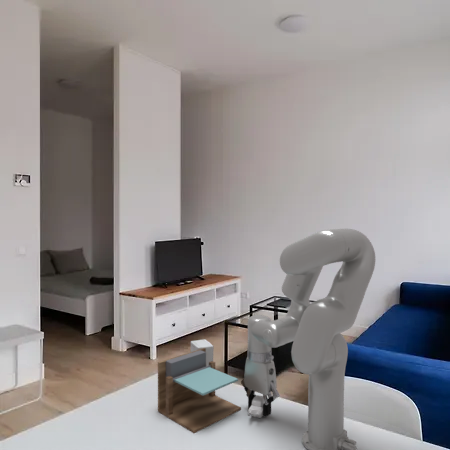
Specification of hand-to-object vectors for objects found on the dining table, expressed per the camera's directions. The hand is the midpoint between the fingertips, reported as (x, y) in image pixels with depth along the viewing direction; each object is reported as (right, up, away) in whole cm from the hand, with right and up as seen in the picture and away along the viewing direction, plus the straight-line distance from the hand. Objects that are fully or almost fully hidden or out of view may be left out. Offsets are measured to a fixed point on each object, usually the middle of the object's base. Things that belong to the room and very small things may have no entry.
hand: (259, 411), depth 128 cm
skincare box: (-20, -1, +23) cm, 30 cm away
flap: (-19, +9, +1) cm, 21 cm away
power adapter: (-1, -1, -2) cm, 3 cm away
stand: (-19, -1, +2) cm, 19 cm away
